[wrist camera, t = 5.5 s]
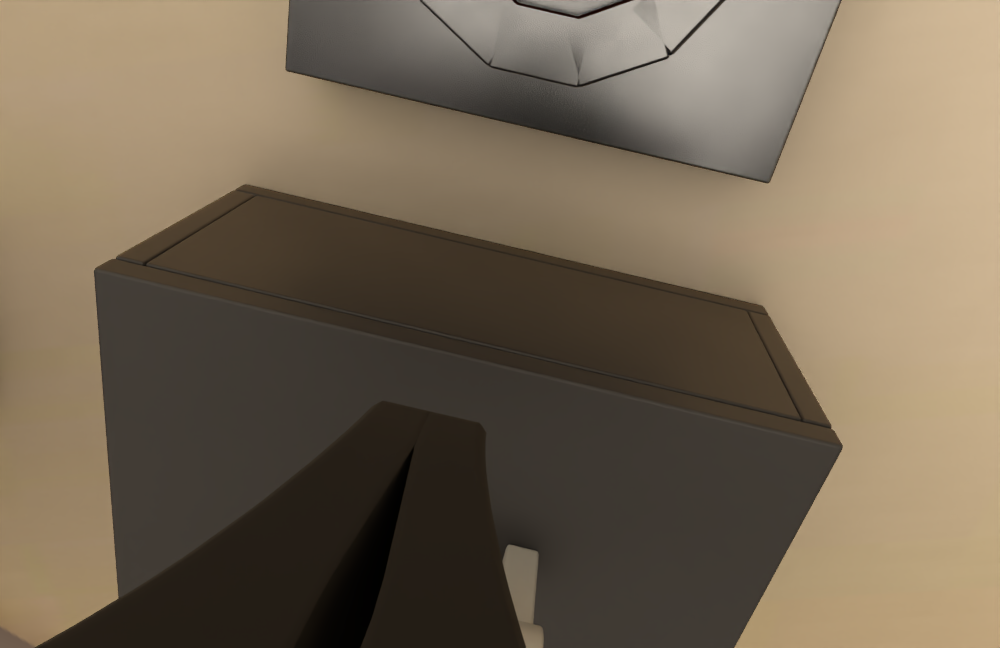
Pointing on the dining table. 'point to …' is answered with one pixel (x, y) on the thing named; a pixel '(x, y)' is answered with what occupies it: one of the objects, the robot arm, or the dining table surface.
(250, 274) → the dark grey box
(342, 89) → the dining table surface
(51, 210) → the dining table surface
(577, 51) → the button pad
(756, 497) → the box lid
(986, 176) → the dining table surface
